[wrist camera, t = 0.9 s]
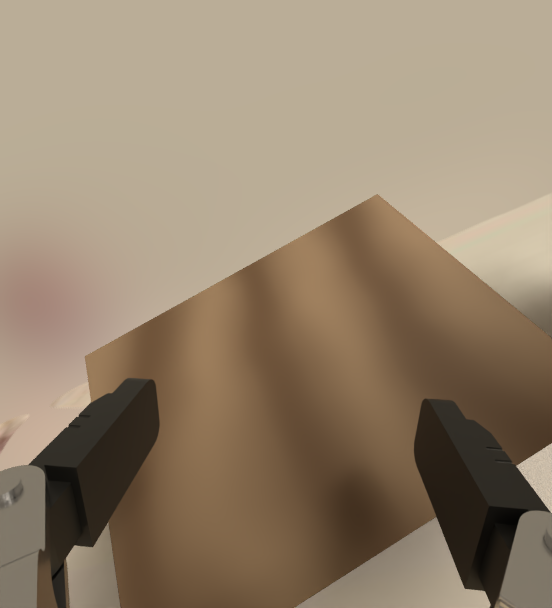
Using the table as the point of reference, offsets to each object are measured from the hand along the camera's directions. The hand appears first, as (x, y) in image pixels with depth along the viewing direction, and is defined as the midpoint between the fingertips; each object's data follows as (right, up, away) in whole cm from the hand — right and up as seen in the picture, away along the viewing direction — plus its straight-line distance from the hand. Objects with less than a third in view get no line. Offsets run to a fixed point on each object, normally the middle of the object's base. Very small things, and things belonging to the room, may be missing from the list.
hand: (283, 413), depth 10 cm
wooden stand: (+6, -12, +25) cm, 28 cm away
